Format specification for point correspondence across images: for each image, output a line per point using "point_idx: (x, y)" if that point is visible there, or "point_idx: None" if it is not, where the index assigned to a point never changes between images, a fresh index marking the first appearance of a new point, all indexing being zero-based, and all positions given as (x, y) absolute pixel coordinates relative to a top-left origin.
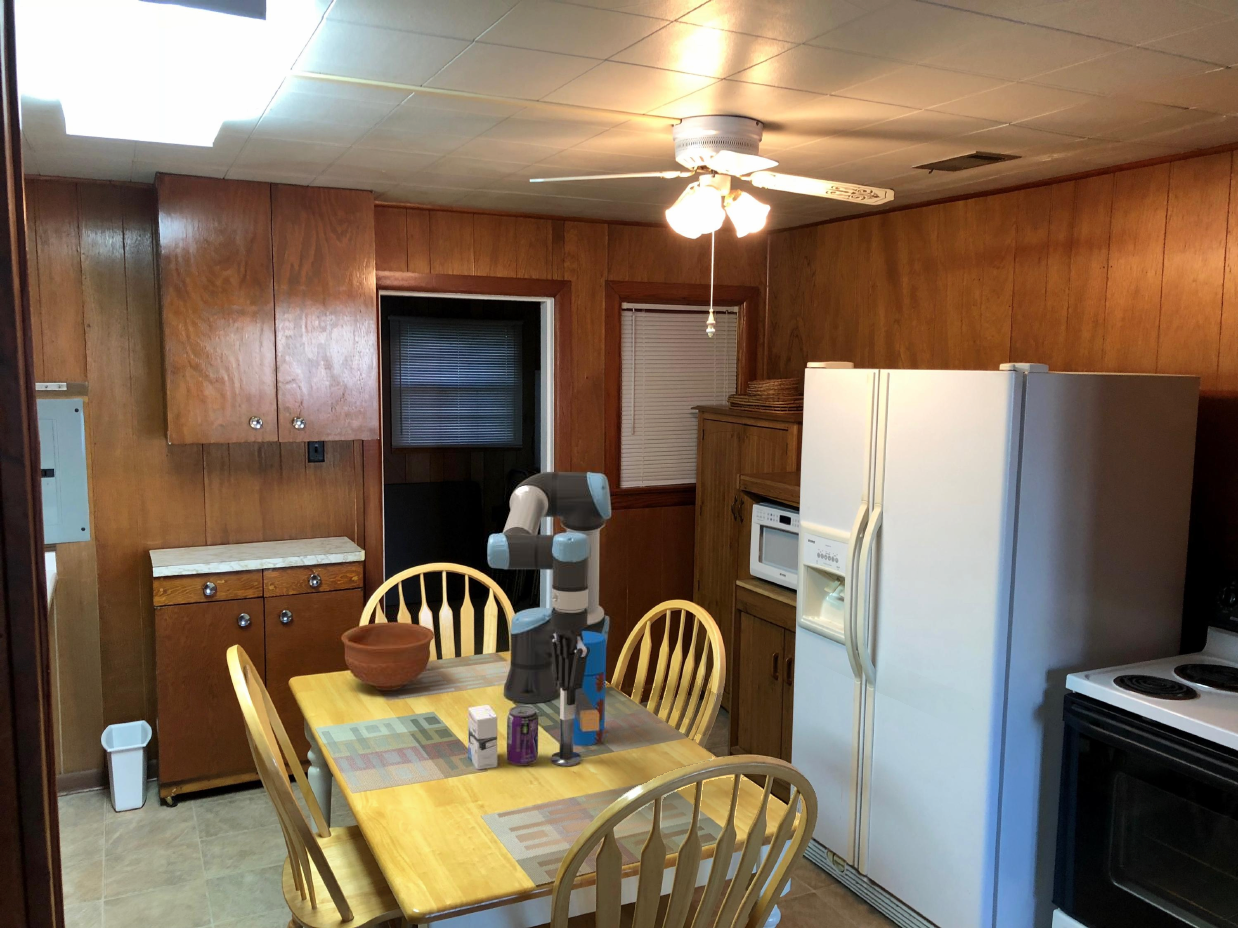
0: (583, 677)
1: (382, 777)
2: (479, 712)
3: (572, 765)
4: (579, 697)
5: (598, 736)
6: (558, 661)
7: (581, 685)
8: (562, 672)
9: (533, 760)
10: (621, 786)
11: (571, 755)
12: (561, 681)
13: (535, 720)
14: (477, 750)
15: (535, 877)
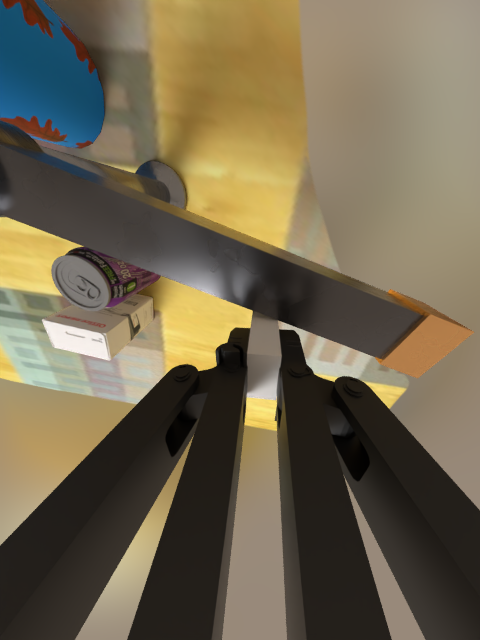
0: (430, 457)
1: (144, 387)
2: (79, 345)
3: (186, 198)
4: (250, 284)
5: (82, 54)
6: (131, 518)
7: (373, 398)
8: (238, 472)
9: None
10: (301, 160)
11: (166, 189)
12: (244, 422)
13: (113, 266)
14: (140, 331)
15: (398, 383)
